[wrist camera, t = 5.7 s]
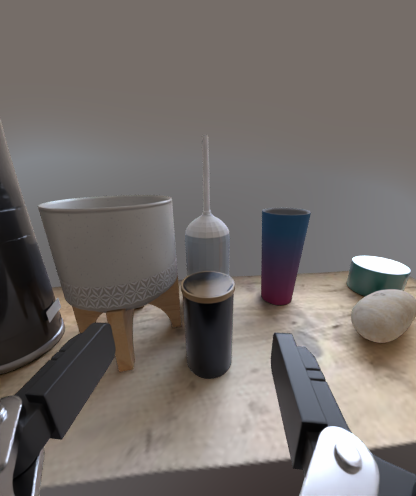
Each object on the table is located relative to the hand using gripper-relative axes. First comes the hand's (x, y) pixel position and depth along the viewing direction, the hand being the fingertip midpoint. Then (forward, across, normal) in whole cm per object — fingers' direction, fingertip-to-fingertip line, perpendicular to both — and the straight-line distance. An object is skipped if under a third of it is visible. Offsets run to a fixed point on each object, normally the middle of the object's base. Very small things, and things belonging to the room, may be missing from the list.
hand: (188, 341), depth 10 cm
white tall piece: (+22, +1, +12) cm, 25 cm away
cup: (+24, -10, +13) cm, 29 cm away
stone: (+17, -23, +13) cm, 31 cm away
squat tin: (+28, -28, +12) cm, 42 cm away
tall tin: (+10, 0, +12) cm, 16 cm away
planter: (+14, +11, +12) cm, 22 cm away
